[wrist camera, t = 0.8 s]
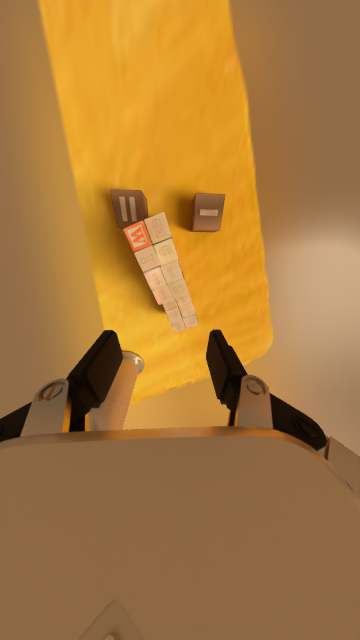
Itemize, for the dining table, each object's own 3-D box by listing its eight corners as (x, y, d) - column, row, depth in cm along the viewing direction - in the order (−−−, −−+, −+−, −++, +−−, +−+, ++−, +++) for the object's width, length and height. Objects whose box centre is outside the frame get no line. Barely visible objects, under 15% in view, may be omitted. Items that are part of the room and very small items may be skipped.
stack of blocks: (193, 308, 38) (201, 333, 27) (174, 314, 39) (173, 341, 28) (168, 223, 27) (164, 209, 17) (141, 233, 28) (121, 227, 17)
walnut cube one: (213, 232, 28) (220, 230, 24) (190, 231, 28) (193, 229, 24) (216, 202, 26) (225, 193, 21) (192, 201, 26) (196, 192, 21)
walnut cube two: (149, 230, 28) (144, 227, 23) (126, 229, 27) (116, 227, 23) (146, 199, 25) (140, 189, 21) (120, 198, 25) (109, 188, 20)
